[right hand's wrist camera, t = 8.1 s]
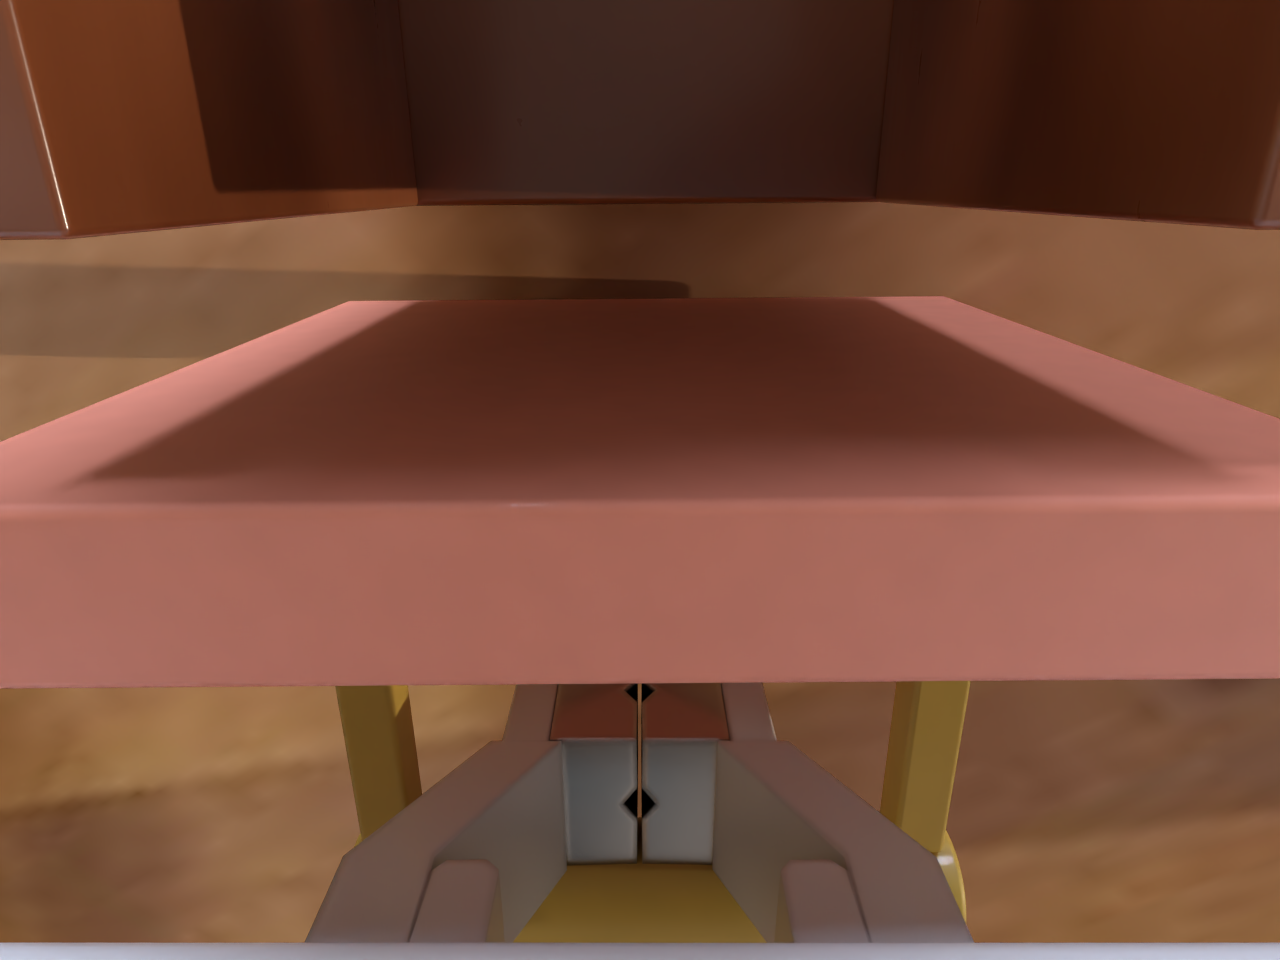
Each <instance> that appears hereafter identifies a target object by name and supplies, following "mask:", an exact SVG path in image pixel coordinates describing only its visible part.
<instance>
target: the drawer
mask: <svg viewBox="0 0 1280 960" xmlns="http://www.w3.org/2000/svg"><path fill="white" fill-rule="evenodd" d="M805 202H885V203H898V204H912V205H926V206H939V207H953V208H967V209H980V210H994V211H1008V212H1021V213H1035V214H1049V215H1062V216H1076V217H1090V218H1103V219H1117V220H1131V221H1144V222H1158V223H1172V224H1185V225H1199V226H1213V227H1226V228H1240V229H1254V230H1278V229H1280V0H0V240H37V239H74V238H84V237H95V236H105V235H116V234H126V233H137V232H147V231H158V230H168V229H178V228H189V227H199V226H210V225H220V224H231V223H241V222H251V221H262V220H272V219H283V218H293V217H304V216H314V215H324V214H335V213H345V212H356V211H366V210H377V209H387V208H397V207H408V206H432V205H556V204H681V203H805ZM1265 678H1280V419H1278V418H1276V417H1273V416H1270V415H1267V414H1265V413H1262V412H1259V411H1256V410H1254V409H1251V408H1248V407H1245V406H1243V405H1240V404H1237V403H1235V402H1232V401H1229V400H1226V399H1224V398H1221V397H1218V396H1215V395H1213V394H1210V393H1207V392H1204V391H1202V390H1199V389H1196V388H1193V387H1191V386H1188V385H1185V384H1183V383H1180V382H1177V381H1174V380H1172V379H1169V378H1166V377H1163V376H1161V375H1158V374H1155V373H1152V372H1150V371H1147V370H1144V369H1142V368H1139V367H1136V366H1133V365H1131V364H1128V363H1125V362H1122V361H1120V360H1117V359H1114V358H1111V357H1109V356H1106V355H1103V354H1100V353H1098V352H1095V351H1092V350H1090V349H1087V348H1084V347H1081V346H1079V345H1076V344H1073V343H1070V342H1068V341H1065V340H1062V339H1059V338H1057V337H1054V336H1051V335H1048V334H1046V333H1043V332H1040V331H1038V330H1035V329H1032V328H1029V327H1027V326H1024V325H1021V324H1018V323H1016V322H1013V321H1010V320H1007V319H1005V318H1002V317H999V316H996V315H994V314H991V313H988V312H986V311H983V310H980V309H977V308H975V307H972V306H969V305H966V304H964V303H961V302H958V301H955V300H953V299H950V298H947V297H945V296H920V297H794V298H669V299H544V300H419V301H348V302H345V303H343V304H341V305H338V306H336V307H333V308H331V309H328V310H326V311H323V312H321V313H318V314H316V315H313V316H311V317H308V318H306V319H303V320H301V321H298V322H296V323H293V324H291V325H289V326H286V327H284V328H281V329H279V330H276V331H274V332H271V333H269V334H266V335H264V336H261V337H259V338H256V339H254V340H251V341H249V342H246V343H244V344H241V345H239V346H236V347H234V348H232V349H229V350H227V351H224V352H222V353H219V354H217V355H214V356H212V357H209V358H207V359H204V360H202V361H199V362H197V363H194V364H192V365H189V366H187V367H184V368H182V369H180V370H177V371H175V372H172V373H170V374H167V375H165V376H162V377H160V378H157V379H155V380H152V381H150V382H147V383H145V384H142V385H140V386H137V387H135V388H132V389H130V390H128V391H125V392H123V393H120V394H118V395H115V396H113V397H110V398H108V399H105V400H103V401H100V402H98V403H95V404H93V405H90V406H88V407H85V408H83V409H80V410H78V411H75V412H73V413H71V414H68V415H66V416H63V417H61V418H58V419H56V420H53V421H51V422H48V423H46V424H43V425H41V426H38V427H36V428H33V429H31V430H28V431H26V432H23V433H21V434H19V435H16V436H14V437H11V438H9V439H6V440H4V441H1V442H0V688H116V687H244V686H335V687H336V693H337V698H338V704H339V710H340V716H341V722H342V727H343V733H344V739H345V745H346V751H347V756H348V762H349V768H350V774H351V780H352V786H353V791H354V797H355V803H356V809H357V815H358V820H359V826H360V832H361V833H360V835H359V837H358V839H357V841H356V844H355V846H357V845H358V844H359V843H361V842H362V841H363V840H364V839H366V838H367V837H368V836H370V835H371V834H372V833H373V832H375V831H376V830H377V829H379V828H380V827H381V826H382V825H384V824H385V823H386V822H388V821H389V820H390V819H391V818H393V817H394V816H395V815H397V814H398V813H399V812H400V811H402V810H403V809H404V808H406V807H407V806H408V805H409V804H411V803H412V802H413V801H415V800H416V799H417V798H418V797H420V796H421V795H422V790H421V783H420V775H419V768H418V760H417V753H416V745H415V738H414V730H413V723H412V715H411V708H410V700H409V693H408V685H499V684H627V683H755V682H882V681H897V683H896V690H895V698H894V706H893V714H892V722H891V729H890V737H889V745H888V753H887V761H886V768H885V776H884V784H883V792H882V800H881V807H880V813H881V814H882V815H883V816H885V817H886V818H887V819H888V820H890V821H891V822H892V823H894V824H895V825H896V826H897V827H899V828H900V829H901V830H902V831H904V832H905V833H906V834H908V835H909V836H910V837H911V838H913V839H914V840H915V841H917V842H918V843H919V844H920V845H922V846H923V847H924V848H925V849H927V850H928V851H929V852H931V853H932V854H933V855H934V856H936V857H937V859H938V861H939V864H940V866H941V868H942V871H943V873H944V875H945V877H946V880H947V882H948V884H949V886H950V889H951V891H952V893H953V896H954V898H955V900H956V902H957V905H958V907H959V909H960V911H961V914H962V916H963V918H964V921H965V923H966V900H965V891H964V884H963V879H962V874H961V869H960V866H959V862H958V859H957V855H956V852H955V850H954V847H953V844H952V842H951V839H950V837H949V835H948V833H947V831H946V825H947V819H948V813H949V807H950V801H951V795H952V789H953V783H954V777H955V771H956V765H957V759H958V753H959V747H960V741H961V735H962V730H963V724H964V718H965V712H966V706H967V700H968V694H969V688H970V682H971V681H1010V680H1138V679H1265ZM355 846H354V847H355ZM712 866H713V865H686V864H642V818H637V864H609V865H573V866H567V871H566V872H565V873H564V875H563V876H562V877H561V879H560V880H559V881H558V883H557V884H556V885H555V887H554V888H553V889H552V891H551V892H550V893H549V895H548V896H547V897H546V899H545V900H544V901H543V903H542V904H541V905H540V907H539V908H538V909H537V911H536V912H535V913H534V915H533V916H532V917H531V919H530V920H529V921H528V923H527V924H526V925H525V927H524V928H523V929H522V931H521V932H520V933H519V935H518V936H517V937H516V939H515V940H514V941H513V943H767V942H766V941H765V939H764V938H763V937H762V935H761V934H760V933H759V931H758V930H757V929H756V927H755V926H754V925H753V923H752V922H751V921H750V919H749V918H748V916H747V915H746V914H745V912H744V911H743V910H742V908H741V907H740V906H739V904H738V903H737V902H736V900H735V899H734V898H733V896H732V895H731V894H730V892H729V891H728V890H727V888H726V887H725V886H724V884H723V883H722V882H721V880H720V879H719V878H718V876H717V875H716V874H715V872H714V871H713V869H712Z"/></svg>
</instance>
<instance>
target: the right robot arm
mask: <svg viewBox="0 0 1280 960" xmlns="http://www.w3.org/2000/svg"><path fill="white" fill-rule="evenodd" d="M641 724H642V741H641V764H642V864H686V865H713V866H712V869H713V871H714V872H715V874H716V875H717V876H718V878H719V879H720V880H721V882H722V883H723V884H724V886H725V887H726V888H727V890H728V891H729V892H730V894H731V895H732V896H733V898H734V899H735V900H736V902H737V903H738V904H739V906H740V907H741V908H742V910H743V911H744V912H745V914H746V915H747V916H748V918H749V919H750V921H751V922H752V923H753V925H754V926H755V927H756V929H757V930H758V931H759V933H760V934H761V935H762V937H763V938H764V939H765V941H766V942H767V943H513V941H514V940H515V939H516V937H517V936H518V935H519V933H520V932H521V931H522V929H523V928H524V927H525V925H526V924H527V923H528V921H529V920H530V919H531V917H532V916H533V915H534V913H535V912H536V911H537V909H538V908H539V907H540V905H541V904H542V903H543V901H544V900H545V899H546V897H547V896H548V895H549V893H550V892H551V891H552V889H553V888H554V887H555V885H556V884H557V883H558V881H559V880H560V879H561V877H562V876H563V875H564V873H565V872H566V871H567V866H573V865H609V864H637V808H638V683H627V684H516V688H515V692H514V696H513V700H512V704H511V708H510V712H509V716H508V720H507V724H506V728H505V732H504V736H503V740H502V741H490V742H489V743H488V744H486V745H485V746H484V747H483V748H481V749H480V750H479V751H477V752H476V753H475V754H474V755H472V756H471V757H470V758H468V759H467V760H466V761H465V762H463V763H462V764H461V765H459V766H458V767H457V768H456V769H454V770H453V771H452V772H451V773H449V774H448V775H447V776H445V777H444V778H443V779H442V780H440V781H439V782H438V783H436V784H435V785H434V786H433V787H431V788H430V789H429V790H427V791H426V792H425V793H424V794H422V795H421V796H420V797H418V798H417V799H416V800H415V801H413V802H412V803H411V804H409V805H408V806H407V807H406V808H404V809H403V810H402V811H400V812H399V813H398V814H397V815H395V816H394V817H393V818H391V819H390V820H389V821H388V822H386V823H385V824H384V825H382V826H381V827H380V828H379V829H377V830H376V831H375V832H373V833H372V834H371V835H370V836H368V837H367V838H366V839H364V840H363V841H362V842H361V843H359V844H358V845H357V846H355V847H354V848H353V849H352V850H350V851H349V852H348V853H346V854H345V855H344V856H343V858H342V860H341V862H340V865H339V867H338V869H337V871H336V873H335V876H334V878H333V880H332V882H331V885H330V887H329V889H328V891H327V894H326V896H325V898H324V900H323V903H322V905H321V907H320V909H319V911H318V914H317V916H316V918H315V920H314V923H313V925H312V927H311V929H310V932H309V934H308V936H307V938H306V940H305V943H0V960H1280V943H974V941H973V939H972V936H971V934H970V932H969V930H968V927H967V925H966V923H965V921H964V918H963V916H962V914H961V911H960V909H959V907H958V905H957V902H956V900H955V898H954V896H953V893H952V891H951V889H950V886H949V884H948V882H947V880H946V877H945V875H944V873H943V871H942V868H941V866H940V864H939V861H938V859H937V857H936V856H934V855H933V854H932V853H931V852H929V851H928V850H927V849H925V848H924V847H923V846H922V845H920V844H919V843H918V842H917V841H915V840H914V839H913V838H911V837H910V836H909V835H908V834H906V833H905V832H904V831H902V830H901V829H900V828H899V827H897V826H896V825H895V824H894V823H892V822H891V821H890V820H888V819H887V818H886V817H885V816H883V815H882V814H881V813H880V812H878V811H877V810H876V809H874V808H873V807H872V806H871V805H869V804H868V803H867V802H865V801H864V800H863V799H862V798H860V797H859V796H858V795H857V794H855V793H854V792H853V791H851V790H850V789H849V788H848V787H846V786H845V785H844V784H843V783H841V782H840V781H839V780H837V779H836V778H835V777H834V776H832V775H831V774H830V773H828V772H827V771H826V770H825V769H823V768H822V767H821V766H820V765H818V764H817V763H816V762H814V761H813V760H812V759H811V758H809V757H808V756H807V755H806V754H804V753H803V752H802V751H800V750H799V749H798V748H797V747H795V746H794V745H793V744H791V743H790V742H789V741H777V739H776V735H775V731H774V727H773V723H772V719H771V715H770V711H769V707H768V703H767V699H766V695H765V691H764V687H763V683H762V682H755V683H642V714H641Z"/></svg>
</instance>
